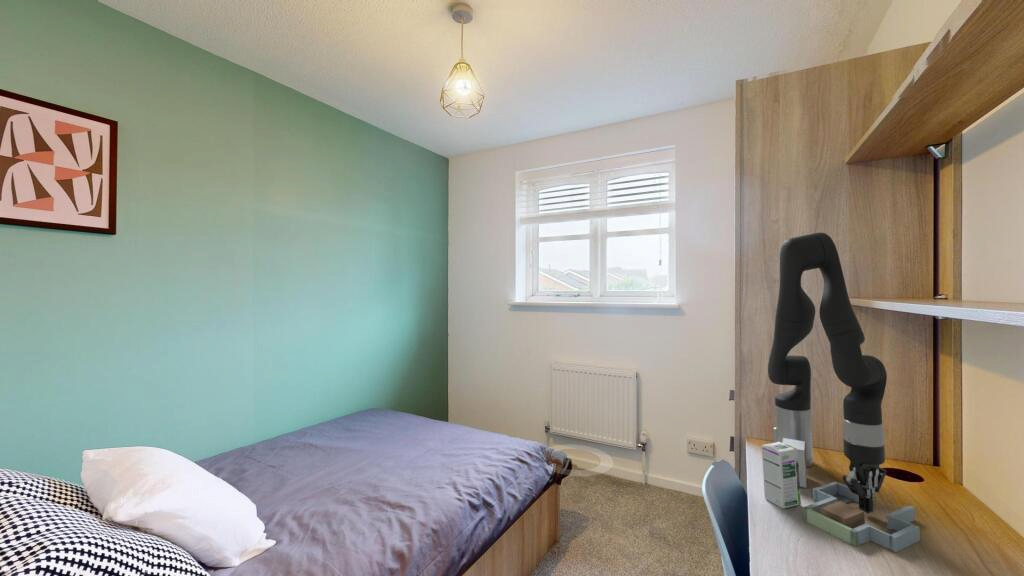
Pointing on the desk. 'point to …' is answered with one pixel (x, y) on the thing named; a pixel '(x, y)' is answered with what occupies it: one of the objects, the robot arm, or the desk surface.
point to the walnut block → (844, 514)
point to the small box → (799, 458)
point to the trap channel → (892, 539)
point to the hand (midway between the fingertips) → (866, 511)
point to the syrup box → (781, 474)
